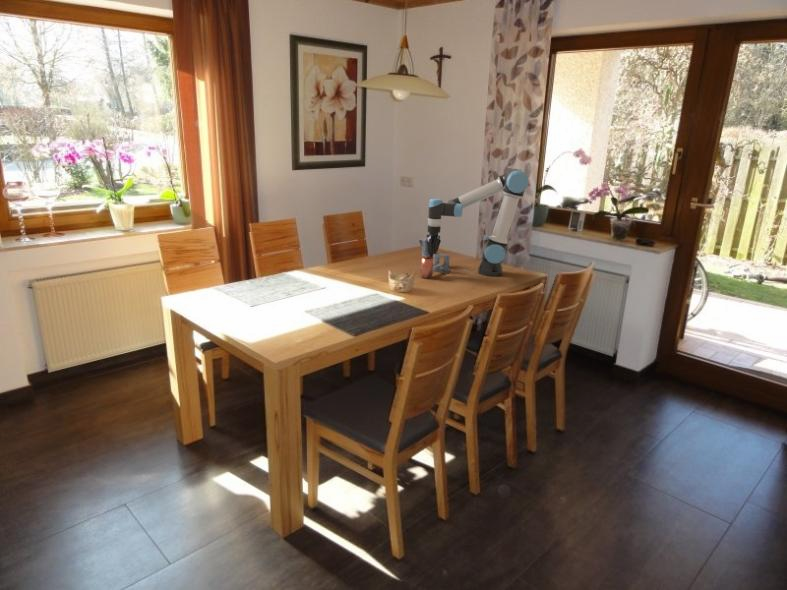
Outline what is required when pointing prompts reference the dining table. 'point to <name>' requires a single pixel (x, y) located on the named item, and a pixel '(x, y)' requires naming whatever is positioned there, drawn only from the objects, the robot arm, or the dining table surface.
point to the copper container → (428, 267)
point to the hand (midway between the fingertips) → (431, 264)
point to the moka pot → (425, 246)
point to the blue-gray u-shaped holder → (445, 266)
